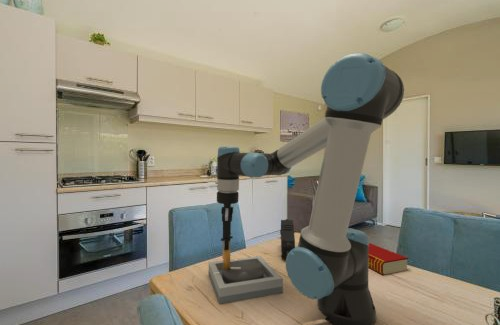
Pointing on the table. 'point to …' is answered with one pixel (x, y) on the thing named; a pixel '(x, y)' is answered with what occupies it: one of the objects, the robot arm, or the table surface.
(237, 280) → the crank dial
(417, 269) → the table surface
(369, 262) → the book
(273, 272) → the square crank box
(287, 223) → the tool
